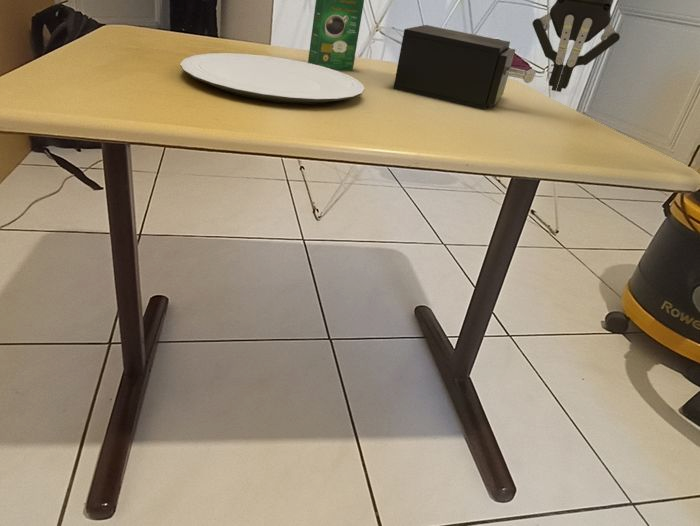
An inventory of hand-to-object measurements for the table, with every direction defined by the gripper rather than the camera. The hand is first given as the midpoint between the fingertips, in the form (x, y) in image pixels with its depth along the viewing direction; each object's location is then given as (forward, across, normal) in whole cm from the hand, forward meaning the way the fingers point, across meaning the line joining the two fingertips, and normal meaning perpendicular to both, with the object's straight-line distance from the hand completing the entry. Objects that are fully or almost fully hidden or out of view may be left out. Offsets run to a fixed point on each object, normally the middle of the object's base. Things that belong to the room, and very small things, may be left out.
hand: (556, 90), depth 86 cm
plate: (+4, -37, -22) cm, 43 cm away
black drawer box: (+4, -17, 0) cm, 17 cm away
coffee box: (+4, -37, -2) cm, 37 cm away
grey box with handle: (+3, -13, 0) cm, 13 cm away
